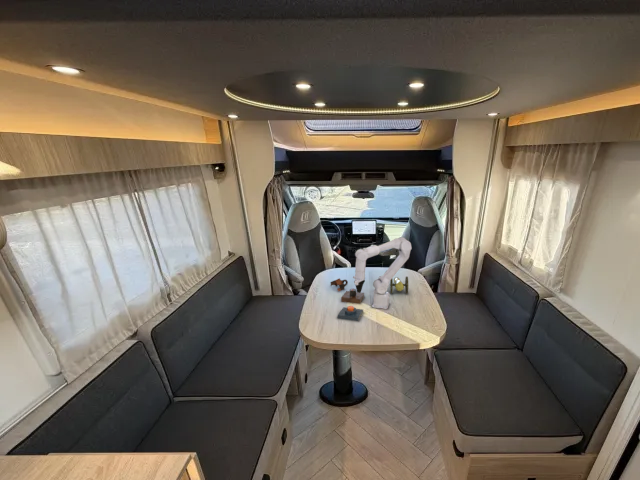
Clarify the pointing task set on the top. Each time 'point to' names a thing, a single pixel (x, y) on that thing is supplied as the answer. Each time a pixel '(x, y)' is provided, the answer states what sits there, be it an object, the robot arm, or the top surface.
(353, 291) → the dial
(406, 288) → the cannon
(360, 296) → the base
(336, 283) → the brown angular figurine
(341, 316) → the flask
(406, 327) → the top surface
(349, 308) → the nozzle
